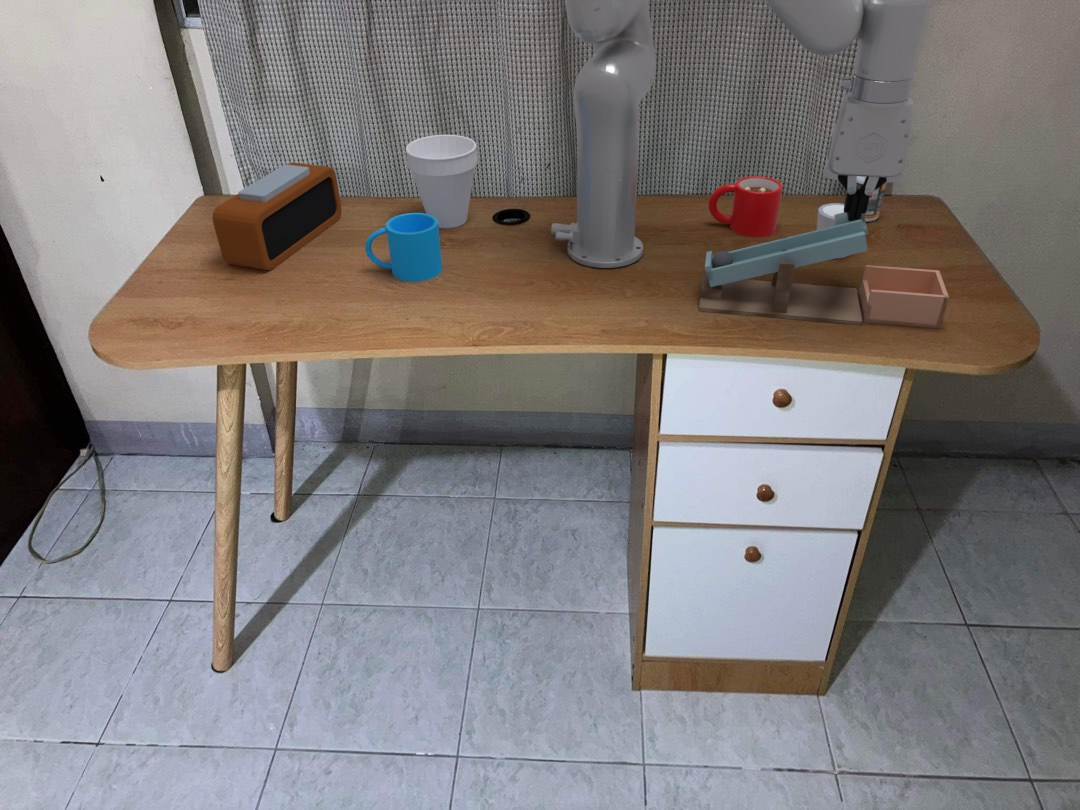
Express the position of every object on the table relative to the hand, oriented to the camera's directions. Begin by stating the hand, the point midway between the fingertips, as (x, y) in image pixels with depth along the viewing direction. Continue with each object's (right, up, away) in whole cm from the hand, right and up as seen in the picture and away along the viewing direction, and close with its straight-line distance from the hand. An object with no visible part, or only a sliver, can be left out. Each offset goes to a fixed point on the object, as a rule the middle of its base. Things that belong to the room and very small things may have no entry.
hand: (853, 217), depth 122 cm
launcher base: (-10, -12, +3) cm, 16 cm away
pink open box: (+6, -14, 0) cm, 15 cm away
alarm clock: (-90, +1, +24) cm, 93 cm away
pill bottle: (+12, +6, +27) cm, 30 cm away
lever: (-9, -5, +2) cm, 10 cm away
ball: (-19, -6, +1) cm, 20 cm away
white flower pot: (-63, +6, +29) cm, 69 cm away
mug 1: (-68, -6, +14) cm, 70 cm away
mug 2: (-11, +4, +24) cm, 27 cm away
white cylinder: (+3, -2, +16) cm, 16 cm away
